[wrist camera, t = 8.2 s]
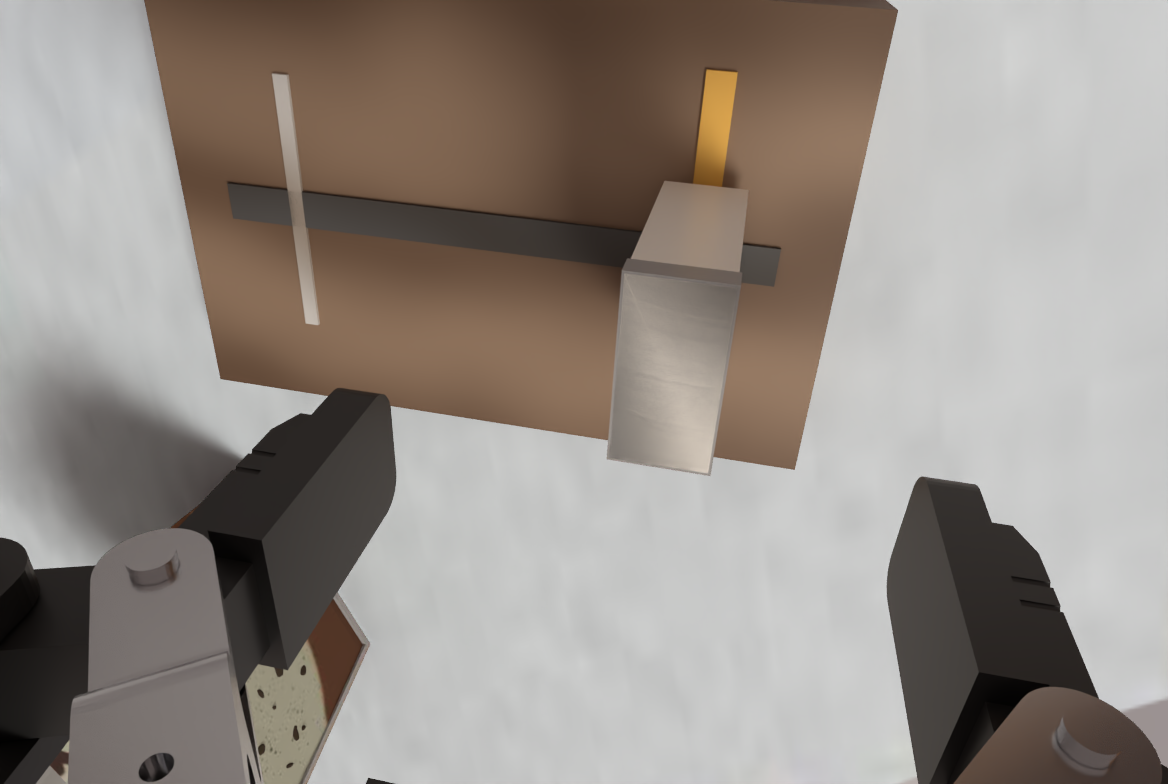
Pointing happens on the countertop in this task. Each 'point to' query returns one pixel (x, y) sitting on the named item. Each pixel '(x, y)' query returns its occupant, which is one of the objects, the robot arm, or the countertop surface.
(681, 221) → the fader tab
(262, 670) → the food container
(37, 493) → the countertop surface
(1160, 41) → the countertop surface
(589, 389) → the fader console
